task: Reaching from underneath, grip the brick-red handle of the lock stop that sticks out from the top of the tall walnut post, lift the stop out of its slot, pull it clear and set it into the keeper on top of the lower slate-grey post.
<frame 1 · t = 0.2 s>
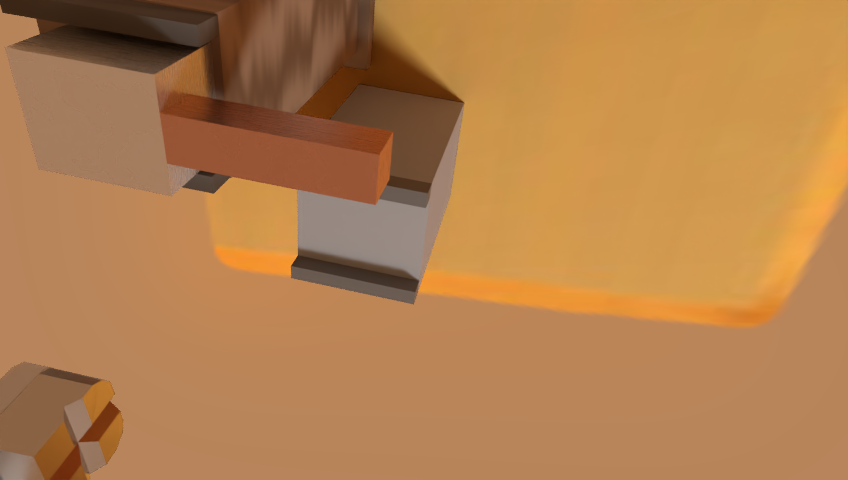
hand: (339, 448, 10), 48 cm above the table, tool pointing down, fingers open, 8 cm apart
lock stop: (153, 88, 32), point 26 cm above the table, touching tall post
grey post: (406, 142, 60), on the table
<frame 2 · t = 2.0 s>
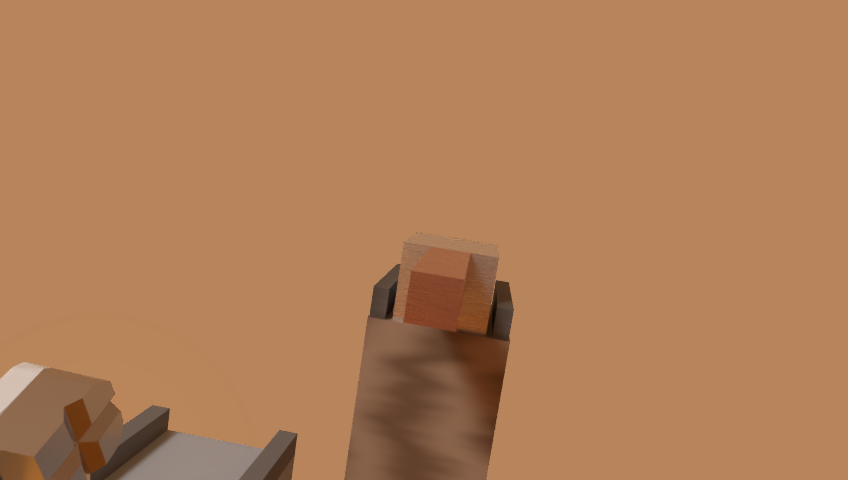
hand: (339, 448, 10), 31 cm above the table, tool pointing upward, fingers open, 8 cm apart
lock stop: (442, 314, 42), point 26 cm above the table, touching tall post
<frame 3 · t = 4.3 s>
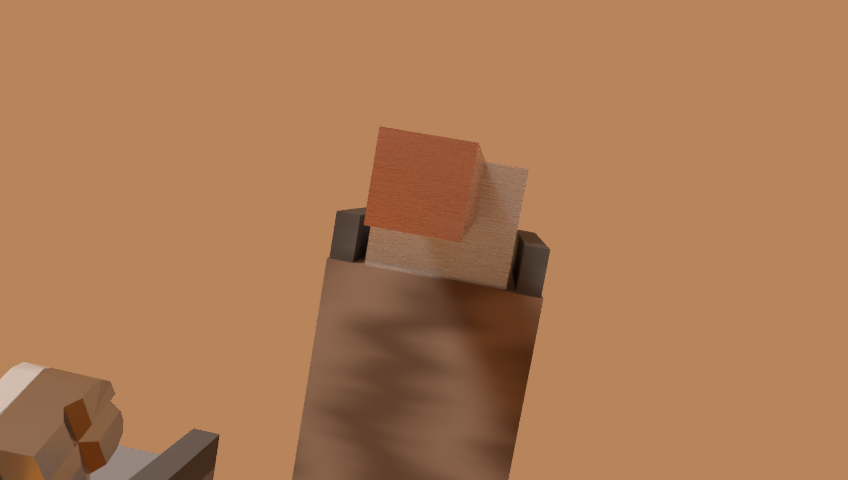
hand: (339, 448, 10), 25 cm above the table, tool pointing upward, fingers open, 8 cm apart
lock stop: (441, 266, 29), point 26 cm above the table, touching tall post
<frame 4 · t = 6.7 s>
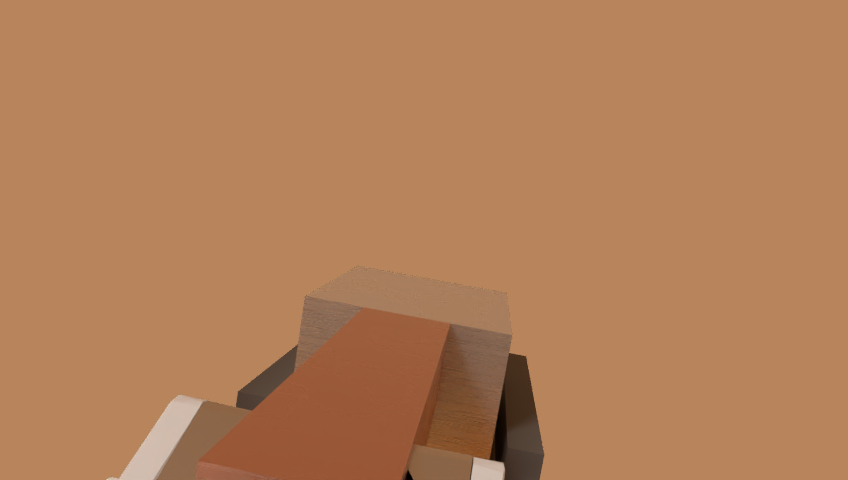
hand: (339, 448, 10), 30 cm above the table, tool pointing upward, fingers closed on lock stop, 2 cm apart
lock stop: (397, 434, 21), point 26 cm above the table, touching gripper, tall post
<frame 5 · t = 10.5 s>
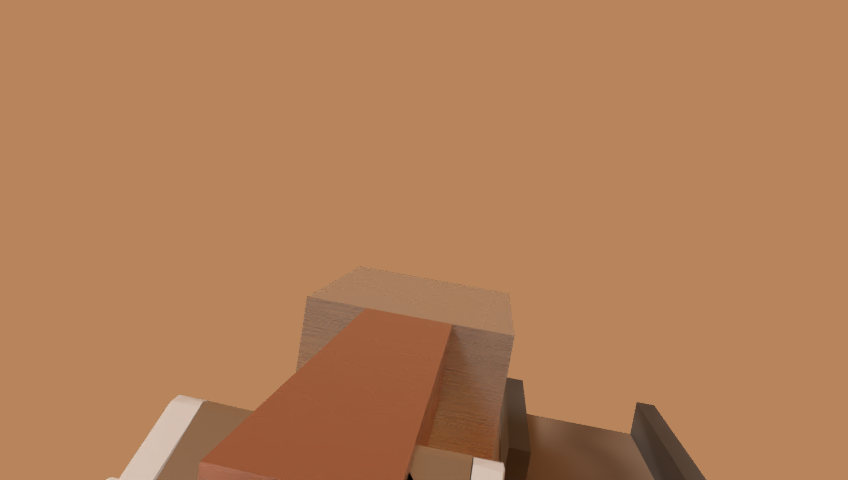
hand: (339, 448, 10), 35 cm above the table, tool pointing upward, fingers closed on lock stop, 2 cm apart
lock stop: (399, 434, 21), point 30 cm above the table, touching gripper
when the fingers open (21 cm above the table, at t = 14.3 s): lock stop stays where it is, resting on grey post.
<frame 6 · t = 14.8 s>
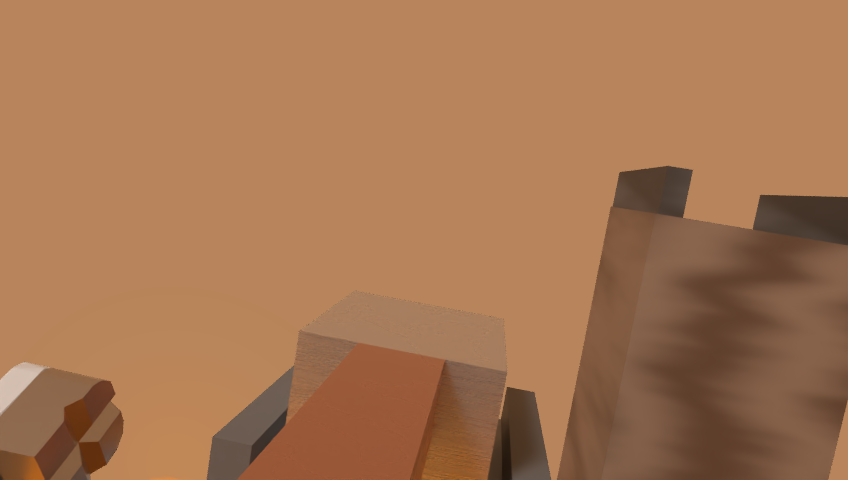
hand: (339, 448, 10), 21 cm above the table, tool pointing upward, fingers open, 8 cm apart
lock stop: (393, 463, 21), point 16 cm above the table, touching grey post
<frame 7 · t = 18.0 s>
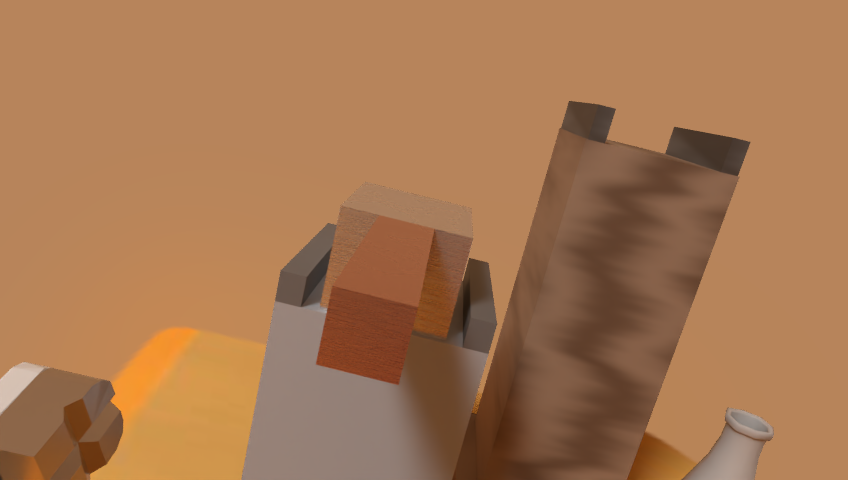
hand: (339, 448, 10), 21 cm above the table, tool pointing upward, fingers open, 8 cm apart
lock stop: (391, 299, 32), point 16 cm above the table, touching grey post
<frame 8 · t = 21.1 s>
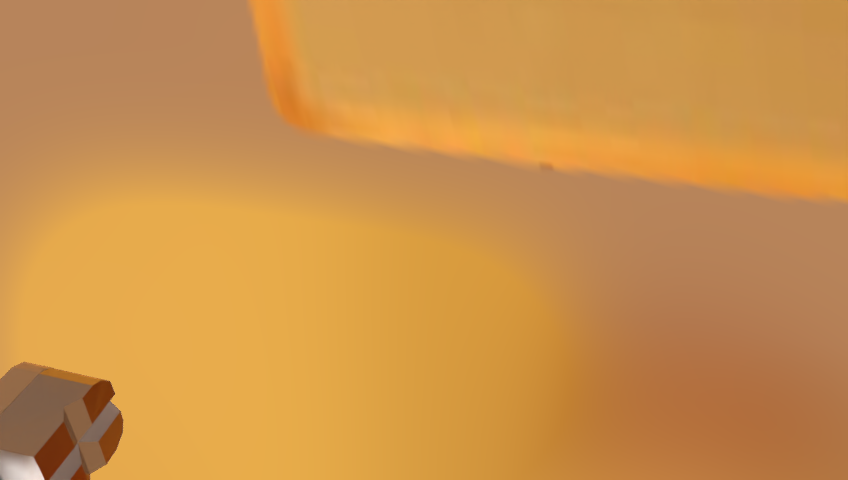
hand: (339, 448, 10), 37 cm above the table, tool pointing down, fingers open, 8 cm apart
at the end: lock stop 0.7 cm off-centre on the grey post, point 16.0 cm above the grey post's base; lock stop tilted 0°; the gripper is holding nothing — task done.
